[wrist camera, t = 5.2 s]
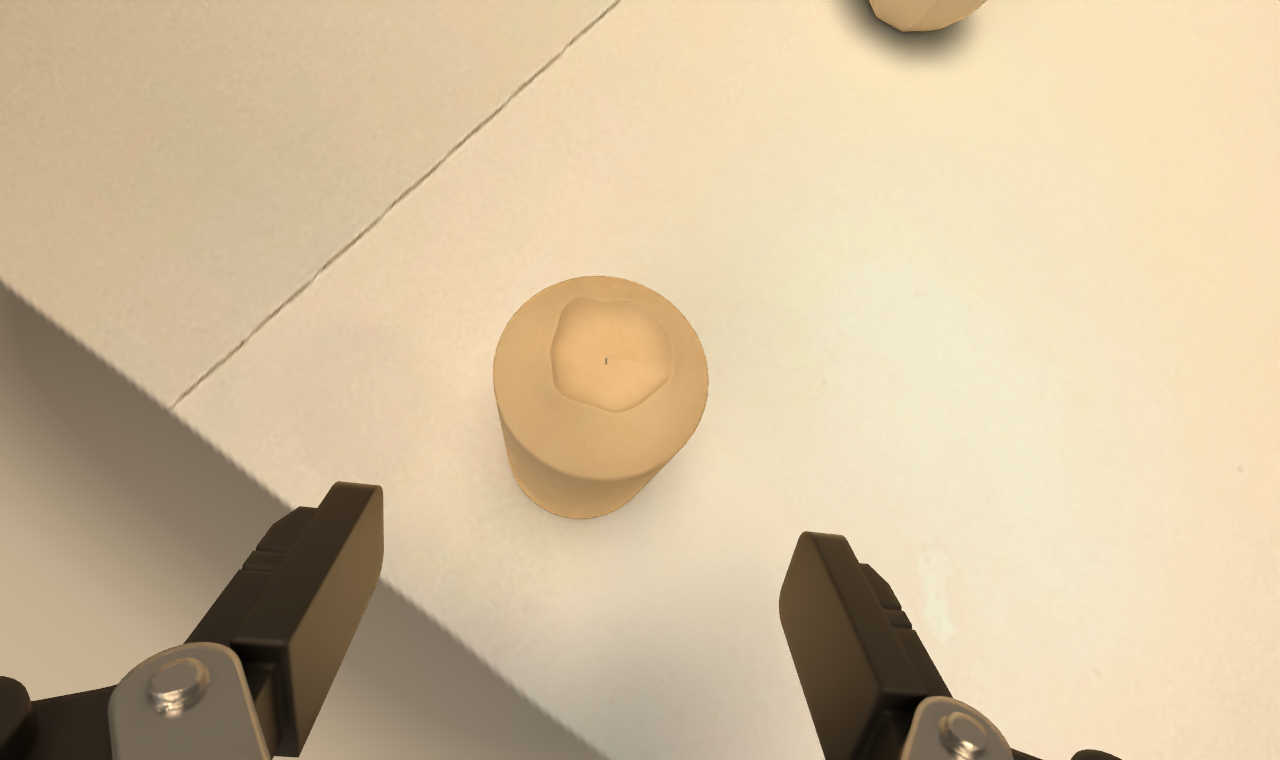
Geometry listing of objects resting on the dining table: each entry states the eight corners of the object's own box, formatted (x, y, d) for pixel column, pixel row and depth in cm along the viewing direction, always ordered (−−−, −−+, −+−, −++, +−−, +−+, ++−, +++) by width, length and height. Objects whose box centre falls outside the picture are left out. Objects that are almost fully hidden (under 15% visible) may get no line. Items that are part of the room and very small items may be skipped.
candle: (558, 550, 22) (574, 517, 13) (480, 425, 23) (442, 312, 14) (679, 468, 24) (770, 387, 15) (601, 354, 25) (639, 212, 16)
